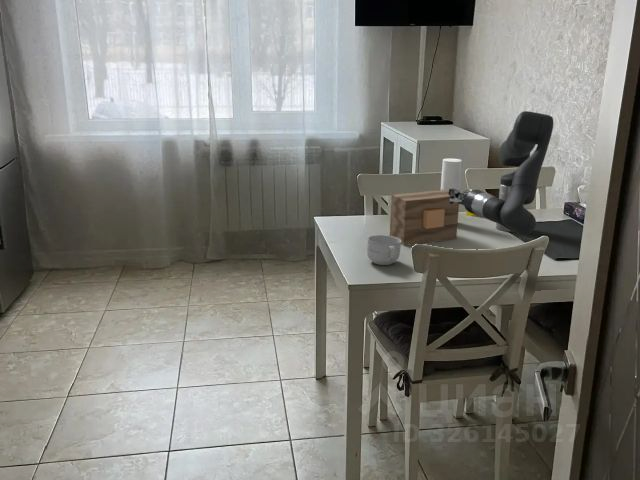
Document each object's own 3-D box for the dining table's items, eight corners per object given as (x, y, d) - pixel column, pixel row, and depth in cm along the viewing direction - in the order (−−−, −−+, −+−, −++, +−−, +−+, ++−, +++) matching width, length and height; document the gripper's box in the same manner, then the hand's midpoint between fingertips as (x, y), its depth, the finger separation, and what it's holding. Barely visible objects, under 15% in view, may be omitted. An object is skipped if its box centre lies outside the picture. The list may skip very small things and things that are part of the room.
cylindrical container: (443, 219, 251) (447, 157, 244) (459, 222, 247) (464, 159, 240) (435, 223, 246) (439, 160, 238) (452, 226, 242) (457, 162, 234)
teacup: (364, 257, 206) (365, 233, 204) (396, 256, 207) (397, 233, 205) (371, 271, 193) (371, 247, 191) (405, 271, 194) (406, 246, 192)
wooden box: (456, 238, 227) (459, 195, 222) (403, 245, 218) (405, 201, 214) (440, 231, 235) (443, 189, 231) (389, 237, 227) (391, 194, 222)
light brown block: (443, 226, 220) (444, 210, 218) (426, 228, 217) (427, 211, 216) (431, 220, 227) (432, 204, 225) (414, 222, 224) (415, 206, 223)
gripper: (501, 190, 194) (468, 178, 209) (465, 194, 189) (434, 182, 204) (498, 214, 196) (466, 200, 211) (463, 218, 191) (432, 204, 206)
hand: (450, 191), depth 208 cm, fingers closed
